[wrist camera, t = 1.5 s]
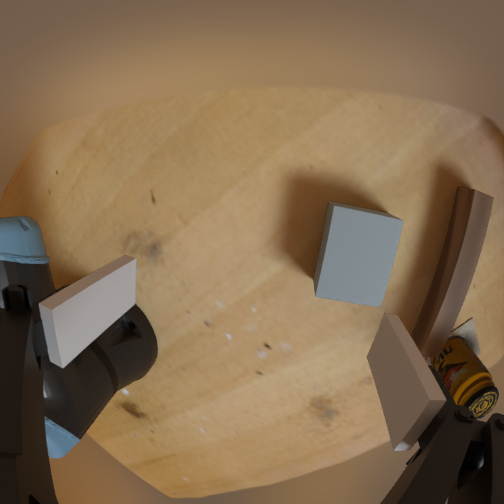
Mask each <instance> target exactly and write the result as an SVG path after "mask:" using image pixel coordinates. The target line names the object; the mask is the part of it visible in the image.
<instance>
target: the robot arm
mask: <svg viewBox="0 0 504 504" xmlns="http://www.w3.org/2000/svg"><path fill="white" fill-rule="evenodd" d="M49 262H50V259H49V257H48V255H47V253H46V250H45V246H44V242H43V237H42V233H41V229H40V226H39V224H38V223H37V222H36V221H35V220H34V219H33V218H31V217H28V216H17V217H7V218H0V504H58V501H57V498H56V495H55V490H54V486H53V480H52V475H51V469H50V463H49V457H51V458H61V457H63V456H65V455H66V454H67V453H68V452H69V451H70V449H71V448H72V447H73V446H74V445H75V444H76V443H79V441H80V439H81V438H82V437H83V435H84V434H85V433H86V431H87V430H88V429H89V427H90V426H91V425H92V423H93V422H94V421H95V419H96V418H97V417H98V415H99V414H100V413H101V411H102V410H103V409H104V407H105V406H106V405H107V403H108V402H109V401H110V399H111V398H112V397H113V396H114V394H115V393H116V392H117V391H118V390H120V389H122V388H124V387H125V386H127V385H129V384H131V383H132V382H134V381H136V380H139V379H141V378H142V377H144V376H145V375H146V374H147V373H148V371H149V370H150V369H151V367H152V366H153V364H154V363H155V361H156V358H157V351H158V348H157V340H156V336H155V333H154V331H153V328H152V326H151V324H150V323H149V321H148V319H147V318H146V316H145V315H144V314H143V312H142V311H141V310H140V309H139V308H138V307H137V306H136V305H135V284H136V258H134V257H130V256H126V255H124V256H122V257H120V258H118V259H116V260H114V261H113V262H111V263H109V264H107V265H105V266H103V267H102V268H100V269H98V270H96V271H94V272H92V273H91V274H89V275H87V276H85V277H83V278H82V279H80V280H78V281H76V282H75V283H73V284H70V285H67V286H63V287H61V288H59V289H57V290H55V286H54V283H53V279H52V275H51V271H50V267H49ZM367 359H368V362H369V365H370V368H371V372H372V375H373V378H374V381H375V385H376V388H377V391H378V395H379V398H380V402H381V405H382V409H383V412H384V416H385V420H386V423H387V427H388V431H389V435H390V439H391V443H392V446H393V450H394V451H399V450H410V449H411V448H412V447H413V446H414V444H415V443H416V442H417V441H418V442H419V446H420V448H419V449H418V450H417V452H416V453H415V454H414V455H413V456H412V458H411V459H410V460H409V461H408V462H407V463H406V464H407V465H408V466H407V467H406V469H405V470H404V472H403V473H402V475H401V476H400V478H399V479H398V480H397V482H396V483H395V485H394V486H393V487H392V489H391V490H390V491H389V493H388V494H387V495H386V497H385V498H384V499H383V501H382V502H381V503H380V504H445V502H446V500H447V498H448V502H447V504H504V415H502V414H499V413H495V414H492V416H491V417H490V418H489V419H488V421H487V422H483V421H478V420H476V418H475V416H474V414H473V412H472V411H471V410H470V409H468V408H467V407H465V406H462V405H456V403H455V401H454V399H453V397H452V396H451V394H450V392H449V390H448V388H447V387H446V385H445V383H444V381H442V378H441V376H440V374H439V373H438V371H437V370H435V369H434V368H433V367H432V366H431V365H427V363H426V361H425V360H424V358H423V356H422V355H421V353H420V351H419V349H418V348H417V346H416V344H415V343H414V341H413V339H412V338H411V336H410V334H409V333H408V331H407V330H406V328H405V326H404V325H403V323H402V321H401V320H400V318H399V317H398V315H395V314H389V313H384V316H383V318H382V321H381V324H380V326H379V329H378V331H377V334H376V336H375V339H374V341H373V343H372V346H371V348H370V350H369V353H368V355H367ZM448 496H449V497H448Z"/></svg>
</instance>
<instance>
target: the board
mask: <svg viewBox="0 0 504 504" xmlns="http://www.w3.org/2000/svg"><path fill="white" fill-rule="evenodd" d="M493 199H494V198H493V197H491V196H489V195H487V194H484V193H482V192H480V191H477V190H475V189H468V188H462V187H458V189H457V194H456V199H455V204H454V209H453V213H452V217H451V221H450V225H449V229H448V233H447V237H446V240H445V244H444V248H443V251H442V254H441V258H440V261H439V264H438V267H437V270H436V273H435V276H434V279H433V282H432V285H431V288H430V291H429V293H428V296H427V299H426V302H425V304H424V307H423V309H422V312H421V314H420V317H419V319H418V322H417V324H416V326H415V329H414V331H413V333H412V336H411V338H412V339H413V341H414V343H415V344H416V346H417V348H418V349H419V351H420V353H421V355H422V356H423V357H429V358H438V357H439V355H440V353H441V351H442V349H443V347H444V345H445V343H446V341H447V339H448V337H449V335H450V333H451V330H452V328H453V326H454V324H455V321H456V319H457V317H458V314H459V312H460V310H461V307H462V305H463V302H464V300H465V297H466V294H467V292H468V289H469V286H470V283H471V281H472V278H473V275H474V272H475V269H476V266H477V263H478V259H479V256H480V253H481V249H482V246H483V242H484V238H485V235H486V231H487V227H488V222H489V218H490V214H491V209H492V204H493Z"/></svg>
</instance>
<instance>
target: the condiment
mask: <svg viewBox="0 0 504 504" xmlns="http://www.w3.org/2000/svg"><path fill="white" fill-rule="evenodd" d="M464 335H465V337H461V336H464ZM478 354H480V349H479V345H478V340H477V335H476V330H475V326H474V321H473V318H472V319H470V320H469V321H468V322H466V323H465V324H464V325H462V326H461V327H459V328H458V329H456V330H455V331H453V332H451V333H450V335H449V337H448V339H447V341H446V343H445V345H444V347H443V349H442V351H441V353H440V355H439V357H438V358H429V357H426V358H427V361H428V364H429V365H431V366H432V367H433V368H434V369H435V370H437V371H438V373H439V374H440V376H441V378H442V381H444V383H445V385H446V387H447V388H448V390H449V392H450V394H451V396H452V397H453V399H454V401H455V403H456V405H462V406H465V407H467V408H468V409H470V410H471V411H472V412H473V414H474V416H475V418H476V420H478V419H480V418H482V417H484V416H485V415H486V414H488V413H489V412H490V411H491V410H492V408H493V407H494V405H495V404H496V402H497V400H498V396H499V393H498V389H497V388H496V387H495V385H494V383H493V381H492V376H491V374H490V373H489V371H488V370H487V369H486V367H485V366H484V365H483V363H482V362H481V361H480V360H479V358H478V357H477V355H478Z"/></svg>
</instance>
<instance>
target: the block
mask: <svg viewBox="0 0 504 504" xmlns="http://www.w3.org/2000/svg"><path fill="white" fill-rule="evenodd" d="M402 226H403V220H401V219H399V218H397V217H395V216H393V215H391V214H389V213H385V212H380V211H376V210H371V209H366V208H362V207H357V206H352V205H347V204H342V203H337V202H332V201H329V203H328V208H327V214H326V219H325V225H324V230H323V235H322V240H321V245H320V250H319V255H318V260H317V265H316V270H315V274H314V279H313V282H314V290H315V297H319V298H325V299H331V300H338V301H344V302H350V303H356V304H363V305H369V306H376V307H381V304H382V301H383V298H384V295H385V291H386V288H387V285H388V281H389V278H390V274H391V271H392V267H393V263H394V259H395V256H396V252H397V248H398V243H399V239H400V235H401V230H402Z"/></svg>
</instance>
